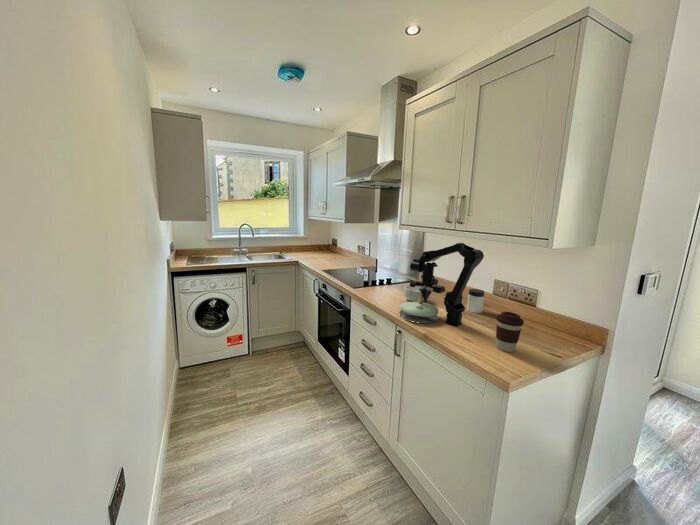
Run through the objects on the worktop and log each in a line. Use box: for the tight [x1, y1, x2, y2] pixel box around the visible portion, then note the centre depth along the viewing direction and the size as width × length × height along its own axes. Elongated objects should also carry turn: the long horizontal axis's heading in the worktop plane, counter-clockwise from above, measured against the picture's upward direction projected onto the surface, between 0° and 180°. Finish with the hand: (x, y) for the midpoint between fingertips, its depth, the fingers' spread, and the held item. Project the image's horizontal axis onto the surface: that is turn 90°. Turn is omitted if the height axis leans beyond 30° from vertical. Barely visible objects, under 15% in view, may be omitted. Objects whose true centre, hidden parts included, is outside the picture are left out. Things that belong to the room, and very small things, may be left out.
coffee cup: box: [495, 311, 525, 353], centre depth 121 cm, size 10×10×15 cm
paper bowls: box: [403, 284, 425, 303], centre depth 183 cm, size 15×15×8 cm
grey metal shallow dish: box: [398, 309, 439, 324], centre depth 154 cm, size 20×20×4 cm
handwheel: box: [399, 295, 439, 317], centre depth 153 cm, size 20×20×6 cm
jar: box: [466, 288, 485, 314], centre depth 168 cm, size 9×8×12 cm
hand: (425, 301), depth 160 cm, fingers closed
